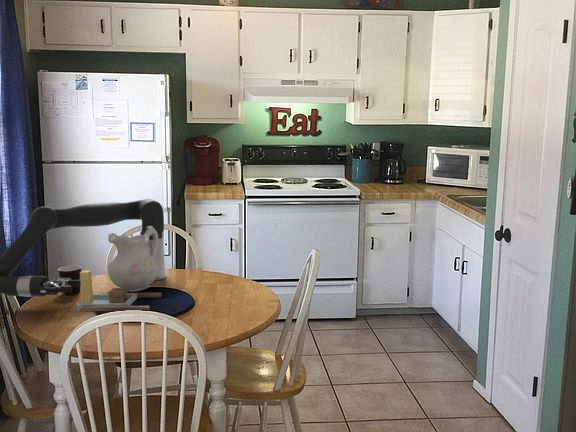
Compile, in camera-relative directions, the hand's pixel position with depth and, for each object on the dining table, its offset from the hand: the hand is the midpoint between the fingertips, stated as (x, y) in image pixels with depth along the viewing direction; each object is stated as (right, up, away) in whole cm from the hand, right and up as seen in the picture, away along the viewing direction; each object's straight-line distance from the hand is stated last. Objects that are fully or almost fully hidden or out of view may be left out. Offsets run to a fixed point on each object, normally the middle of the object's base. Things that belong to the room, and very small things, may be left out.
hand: (75, 286), depth 244 cm
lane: (+17, -7, 0) cm, 19 cm away
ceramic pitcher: (+18, -4, +21) cm, 28 cm away
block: (+16, -6, 0) cm, 17 cm away
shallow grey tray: (+12, -7, +1) cm, 14 cm away
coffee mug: (-7, -5, +21) cm, 23 cm away
